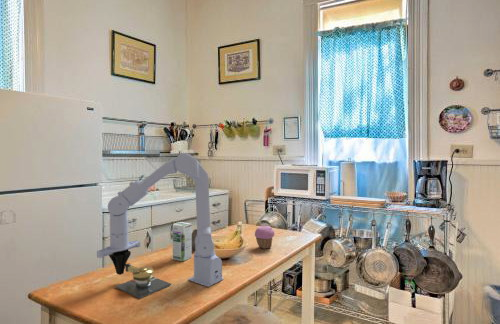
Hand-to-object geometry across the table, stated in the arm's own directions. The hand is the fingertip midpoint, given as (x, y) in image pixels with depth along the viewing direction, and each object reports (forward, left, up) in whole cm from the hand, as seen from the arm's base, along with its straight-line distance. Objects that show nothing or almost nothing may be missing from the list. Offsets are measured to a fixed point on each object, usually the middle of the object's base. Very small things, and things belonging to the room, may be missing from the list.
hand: (120, 273), depth 108 cm
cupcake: (-16, -62, -4) cm, 64 cm away
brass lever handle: (-4, -4, -1) cm, 6 cm away
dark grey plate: (-7, -4, -4) cm, 9 cm away
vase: (+7, -42, -4) cm, 43 cm away
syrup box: (+3, -30, -4) cm, 30 cm away
